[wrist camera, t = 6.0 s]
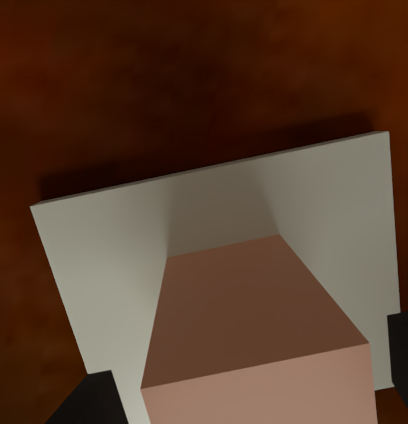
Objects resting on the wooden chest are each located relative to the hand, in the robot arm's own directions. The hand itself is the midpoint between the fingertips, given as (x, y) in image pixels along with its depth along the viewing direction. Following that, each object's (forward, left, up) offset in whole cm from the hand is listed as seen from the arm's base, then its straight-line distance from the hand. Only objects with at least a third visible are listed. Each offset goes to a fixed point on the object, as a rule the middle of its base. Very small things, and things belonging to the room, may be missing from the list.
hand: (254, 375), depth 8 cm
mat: (0, 0, -4) cm, 4 cm away
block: (0, 0, -4) cm, 4 cm away
